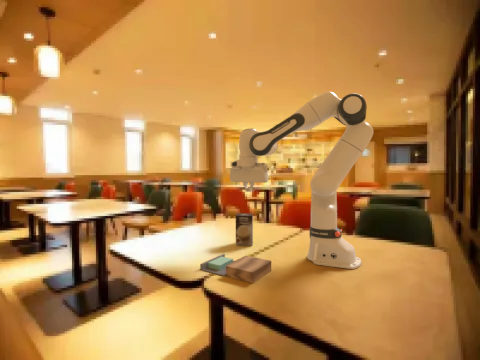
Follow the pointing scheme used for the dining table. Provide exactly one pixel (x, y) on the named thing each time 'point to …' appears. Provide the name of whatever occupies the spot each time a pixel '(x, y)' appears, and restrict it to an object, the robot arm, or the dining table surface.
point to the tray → (219, 272)
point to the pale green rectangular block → (219, 263)
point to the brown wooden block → (248, 269)
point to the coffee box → (244, 229)
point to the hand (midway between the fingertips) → (248, 191)
